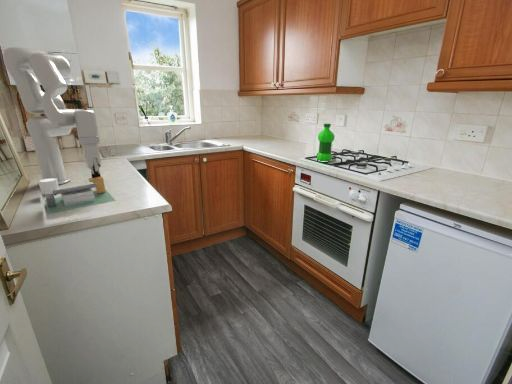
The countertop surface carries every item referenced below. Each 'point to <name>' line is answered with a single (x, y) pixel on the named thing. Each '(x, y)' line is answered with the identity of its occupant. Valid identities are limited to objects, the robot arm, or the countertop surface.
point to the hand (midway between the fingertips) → (97, 182)
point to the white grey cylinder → (48, 185)
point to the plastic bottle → (325, 144)
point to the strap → (73, 189)
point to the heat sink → (72, 198)
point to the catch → (98, 184)
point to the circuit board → (99, 199)
